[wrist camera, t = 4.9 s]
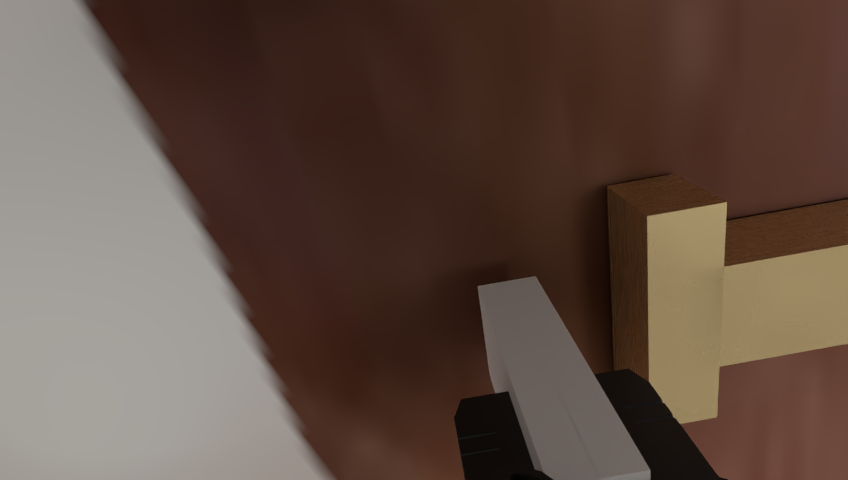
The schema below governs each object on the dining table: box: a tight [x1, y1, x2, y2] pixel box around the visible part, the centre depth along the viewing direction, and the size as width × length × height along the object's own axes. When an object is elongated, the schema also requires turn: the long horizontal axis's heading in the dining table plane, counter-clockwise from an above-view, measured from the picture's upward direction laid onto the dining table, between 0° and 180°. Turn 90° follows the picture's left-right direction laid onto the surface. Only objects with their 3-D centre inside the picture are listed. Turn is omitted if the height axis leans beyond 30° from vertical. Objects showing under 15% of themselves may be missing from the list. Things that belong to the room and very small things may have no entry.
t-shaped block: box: [607, 174, 848, 424], centre depth 15 cm, size 6×11×2 cm, turn 99°
